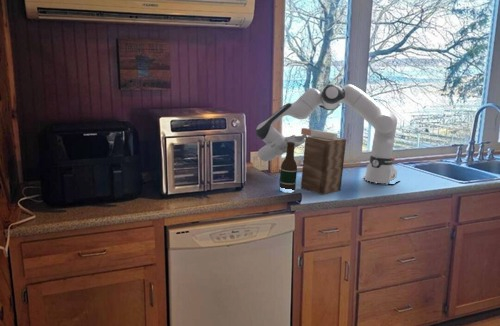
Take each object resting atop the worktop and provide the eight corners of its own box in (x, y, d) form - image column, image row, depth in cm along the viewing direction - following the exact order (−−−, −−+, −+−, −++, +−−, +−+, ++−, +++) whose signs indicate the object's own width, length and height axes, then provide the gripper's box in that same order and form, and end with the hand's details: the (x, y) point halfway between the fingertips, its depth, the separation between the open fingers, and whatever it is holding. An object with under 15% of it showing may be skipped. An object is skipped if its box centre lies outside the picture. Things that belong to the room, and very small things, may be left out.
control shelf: (319, 184, 239) (324, 135, 234) (340, 190, 230) (346, 139, 225) (300, 188, 228) (305, 137, 223) (322, 194, 219) (327, 141, 214)
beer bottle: (293, 194, 215) (298, 144, 211) (277, 192, 217) (281, 142, 212) (295, 190, 223) (300, 142, 218) (279, 188, 224) (284, 140, 220)
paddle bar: (304, 133, 235) (304, 128, 234) (336, 139, 221) (337, 133, 221) (301, 134, 233) (301, 128, 232) (334, 139, 220) (334, 133, 219)
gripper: (266, 141, 238) (285, 131, 228) (291, 139, 252) (309, 129, 243) (270, 152, 236) (289, 142, 227) (295, 149, 251) (313, 140, 242)
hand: (300, 135), depth 235 cm, fingers open, 8 cm apart
